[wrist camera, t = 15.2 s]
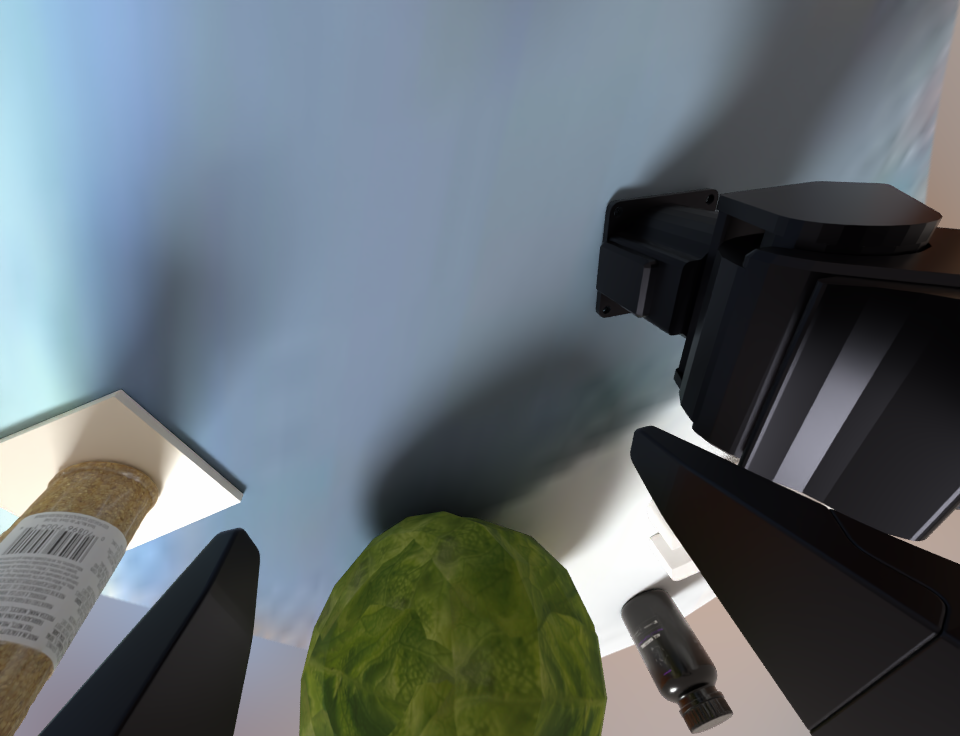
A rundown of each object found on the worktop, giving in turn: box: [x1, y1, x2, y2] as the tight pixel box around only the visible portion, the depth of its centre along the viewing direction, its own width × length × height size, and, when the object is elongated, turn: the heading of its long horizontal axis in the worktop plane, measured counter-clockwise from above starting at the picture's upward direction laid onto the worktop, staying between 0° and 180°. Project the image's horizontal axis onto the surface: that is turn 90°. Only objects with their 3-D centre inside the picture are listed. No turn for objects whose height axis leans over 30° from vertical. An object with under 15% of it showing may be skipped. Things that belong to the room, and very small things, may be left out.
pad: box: [0, 390, 243, 551], centre depth 20 cm, size 9×9×1 cm
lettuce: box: [299, 511, 607, 736], centre depth 25 cm, size 17×23×17 cm
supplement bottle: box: [621, 589, 733, 734], centre depth 43 cm, size 7×7×12 cm
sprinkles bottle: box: [0, 461, 158, 736], centre depth 14 cm, size 5×5×14 cm
